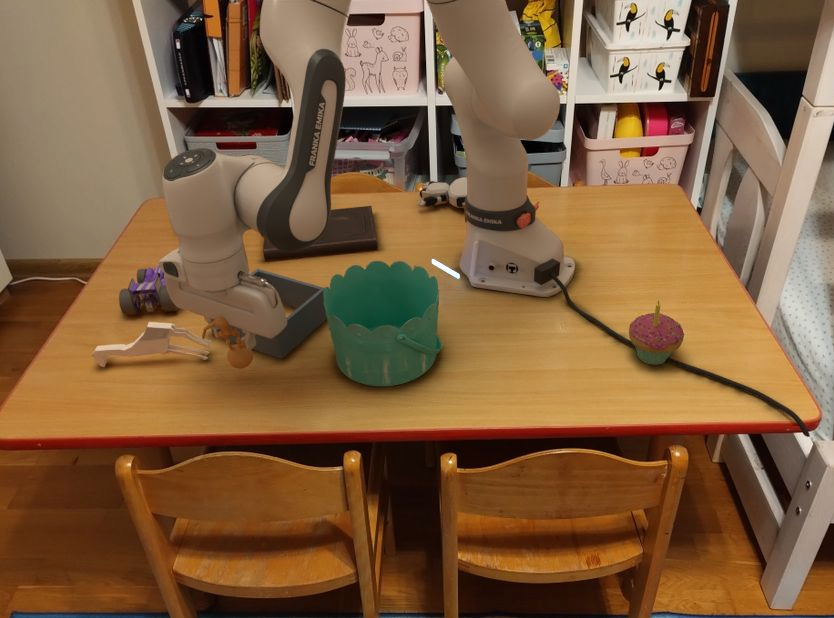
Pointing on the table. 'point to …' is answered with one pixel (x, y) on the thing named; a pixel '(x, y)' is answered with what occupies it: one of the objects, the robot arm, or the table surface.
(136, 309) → the toy race car
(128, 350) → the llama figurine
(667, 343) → the cupcake
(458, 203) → the robot toy
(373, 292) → the basket
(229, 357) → the figurine
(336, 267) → the table surface
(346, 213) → the hardcover book
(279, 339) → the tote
